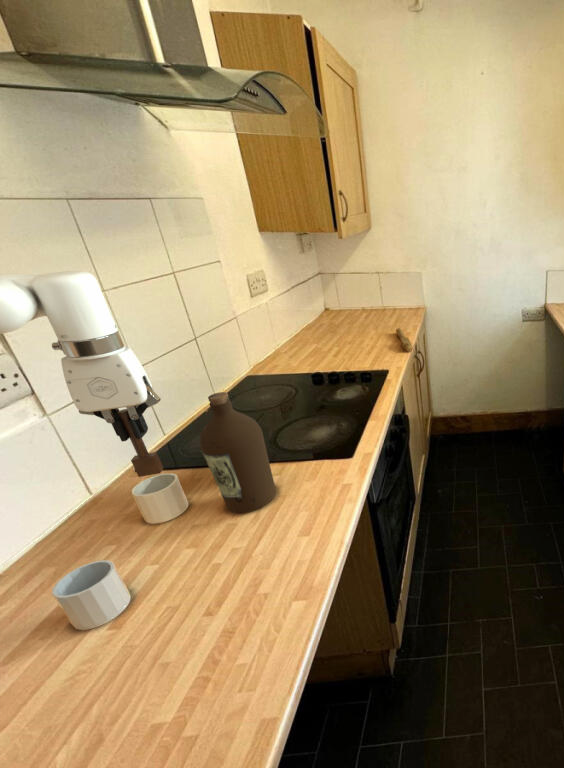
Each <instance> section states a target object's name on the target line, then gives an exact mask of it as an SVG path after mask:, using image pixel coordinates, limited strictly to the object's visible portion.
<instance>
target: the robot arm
mask: <svg viewBox="0 0 564 768" xmlns="http://www.w3.org/2000/svg"><path fill="white" fill-rule="evenodd" d="M44 317H46V318H47V319H48V322H49V324H50V325H51V327H52V330H53V332H54V333H55V335H56V338H57V342H52V343H51V348H52V349H53V350H54V351H62V353H63V355H64V357H62V358H60V362H61V369H62V373H63V377H64V380H65V384H66V387H67V390H68V392H69V394H70V397H71V400H72V402H73V404H74V406H75V408H76V409H77V410H78V413H79V414H81V415H88V416H95V417H98V418H100V419H102V420H104V421H105V422H106V423H107V424H110V425H111V426H112V428H113V430H114V433H115V434H116V436H117V437H119V439H120V441H121V442H122V443H123V442H127V441H128V440H130V438H129V436H128V433H127V431H126V429H125V427H124V425H123V423H122V420H121V418H120V416H119V414H118V411H120V409H122V408H125V409H127V410H128V413H129V415H130V418H131V420H130V421H129V424H130V427H131V429H132V431H133V433H134V435H135V438H136V439H141V438H142V439H143V437H144V436H145V435H146V434H147V433H148V430H149V426H148V425H147V421H146V420H145V417H144V415H143V414H145V412H146V410H147V409H148V408H151V407H153V406H155V405H157V404H159V403H160V401H161V400H162V399H161V397H160V396H159V395H158V394H157V393H156V392H155V391H154V388H153V385H152V382H151V380H150V378H149V376H148V374H147V372H146V370H145V369H144V367H143V365H142V363H141V362H140V360H139V358H138V357H137V355H136V354H135V352H134V351H133V350H132V349H131V348H130V346H126V345H125V344H124V341H123V338H122V336H121V335H120V332H119V329H118V326H117V324H116V322H115V320H114V317H113V315H112V313H111V310H110V308H109V306H108V303H107V301H106V299H105V296H104V294H103V291H102V289H101V286H100V284H99V282H98V280H97V278H96V277H95V276H94V275H93V274H92V273H91V272H88V271H83V270H67V271H66V270H65V271H57V272H56V271H55V272H49V273H44V274H0V335H2V334H9V333H12V332H14V331H17V330H19V329H21V328H22V327H24V326H25V325H26V324H28V323H29V322H31V321H34V320H36V319H39V318H44Z"/></svg>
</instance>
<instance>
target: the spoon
mask: <svg viewBox="0 0 564 768" xmlns="http://www.w3.org/2000/svg"><path fill="white" fill-rule="evenodd" d="M118 414H119V416H120V418H121V420H122V423H123V425H124V427H125V429H126V431H127V433H128V436H129V440H130V442H131V444H132V447H133V449H134V451H135V453H136V455H134V456H132V458H131V459H130V462H131V464H132V466H133V468H134V470H135V472H136V474H137V476H138V478H142V477H147V476H152V475H153V476H154V475H160V474H162V471H164V465H163V463H162V461H161V459H160V456H159V454H158V452H157V451H154V452H149V451H148V449H147V447H146V444H145V441H144V440H143V437H142V438H141V439H136V438H135V435H134V433H133V431H132V429H131V427H130V424H129V421H130V420H131V418H130V415H129V413H128V410H127V408H124V409H121V410H120V409H119V411H118Z"/></svg>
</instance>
